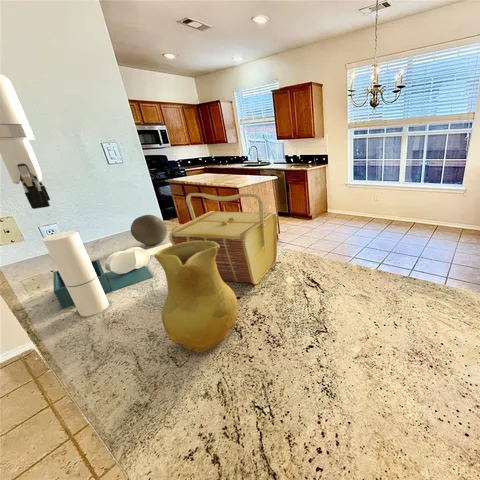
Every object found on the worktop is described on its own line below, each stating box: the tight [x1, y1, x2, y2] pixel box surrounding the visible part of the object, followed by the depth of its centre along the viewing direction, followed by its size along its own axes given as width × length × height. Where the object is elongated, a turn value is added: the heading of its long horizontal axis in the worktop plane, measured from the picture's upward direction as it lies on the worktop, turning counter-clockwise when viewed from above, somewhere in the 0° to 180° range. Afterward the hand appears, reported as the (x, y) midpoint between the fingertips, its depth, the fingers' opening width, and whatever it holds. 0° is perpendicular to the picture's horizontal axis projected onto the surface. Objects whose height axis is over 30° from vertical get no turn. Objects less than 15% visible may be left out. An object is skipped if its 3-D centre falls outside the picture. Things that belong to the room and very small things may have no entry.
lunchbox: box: [52, 259, 154, 309], centre depth 95 cm, size 25×18×7 cm
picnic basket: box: [168, 192, 278, 286], centre depth 94 cm, size 29×26×30 cm
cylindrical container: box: [42, 230, 110, 317], centre depth 77 cm, size 7×7×25 cm
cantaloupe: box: [130, 214, 168, 246], centre depth 126 cm, size 14×14×15 cm
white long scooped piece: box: [103, 242, 172, 274], centre depth 112 cm, size 38×8×4 cm
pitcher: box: [153, 240, 239, 353], centre depth 65 cm, size 17×19×25 cm
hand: (42, 204), depth 69 cm, fingers open, 9 cm apart
